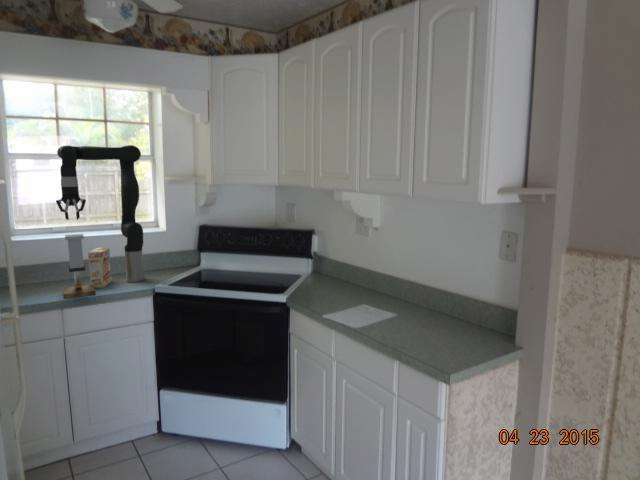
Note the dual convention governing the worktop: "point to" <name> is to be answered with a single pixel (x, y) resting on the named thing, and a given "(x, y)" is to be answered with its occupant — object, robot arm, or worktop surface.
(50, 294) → the worktop surface
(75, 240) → the plastic sleeve
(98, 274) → the coffeecake box
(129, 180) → the robot arm
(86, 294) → the walnut board
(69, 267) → the thin charcoal panel
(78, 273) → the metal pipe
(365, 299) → the worktop surface
